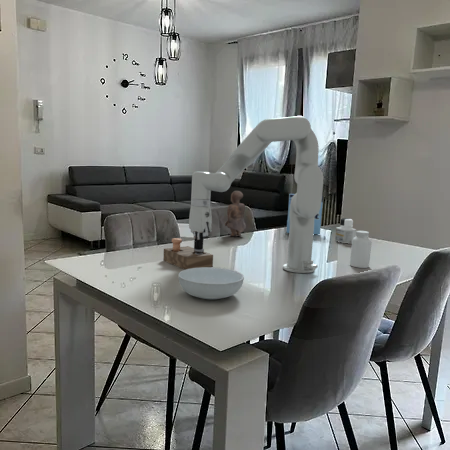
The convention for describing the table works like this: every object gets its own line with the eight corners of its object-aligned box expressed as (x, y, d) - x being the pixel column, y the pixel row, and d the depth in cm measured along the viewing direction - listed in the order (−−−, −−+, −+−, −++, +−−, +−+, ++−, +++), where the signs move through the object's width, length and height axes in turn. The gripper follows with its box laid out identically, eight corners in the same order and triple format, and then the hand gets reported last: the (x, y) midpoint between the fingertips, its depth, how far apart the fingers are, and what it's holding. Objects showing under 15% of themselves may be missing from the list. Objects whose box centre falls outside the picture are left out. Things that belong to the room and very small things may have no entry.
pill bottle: (356, 268, 193) (359, 233, 191) (346, 264, 201) (349, 229, 199) (372, 268, 195) (376, 233, 193) (362, 263, 203) (365, 229, 201)
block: (212, 267, 184) (213, 254, 183) (187, 270, 177) (187, 257, 176) (187, 257, 198) (188, 246, 197) (163, 260, 191) (163, 248, 190)
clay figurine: (236, 233, 262) (238, 189, 259) (250, 236, 256) (252, 191, 252) (220, 235, 253) (223, 190, 249) (234, 238, 246) (237, 191, 242)
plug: (205, 262, 185) (205, 249, 184) (197, 263, 183) (197, 250, 182) (199, 260, 188) (200, 247, 187) (191, 261, 186) (191, 248, 185)
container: (334, 241, 255) (336, 217, 253) (345, 240, 258) (348, 217, 256) (343, 243, 248) (346, 219, 246) (355, 243, 251) (357, 219, 249)
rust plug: (183, 252, 188) (183, 239, 187) (174, 253, 185) (175, 240, 184) (178, 250, 191) (178, 238, 190) (169, 251, 188) (169, 238, 187)
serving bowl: (240, 287, 159) (241, 267, 158) (245, 307, 138) (246, 285, 137) (179, 284, 158) (180, 265, 157) (175, 304, 137) (175, 282, 136)
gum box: (286, 233, 272) (289, 194, 269) (286, 231, 277) (289, 193, 274) (320, 235, 271) (323, 196, 267) (319, 233, 276) (322, 195, 272)
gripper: (219, 205, 178) (217, 251, 181) (197, 200, 190) (195, 244, 193) (203, 205, 174) (201, 253, 177) (182, 201, 185) (180, 246, 188)
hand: (198, 248), depth 185 cm, fingers closed
